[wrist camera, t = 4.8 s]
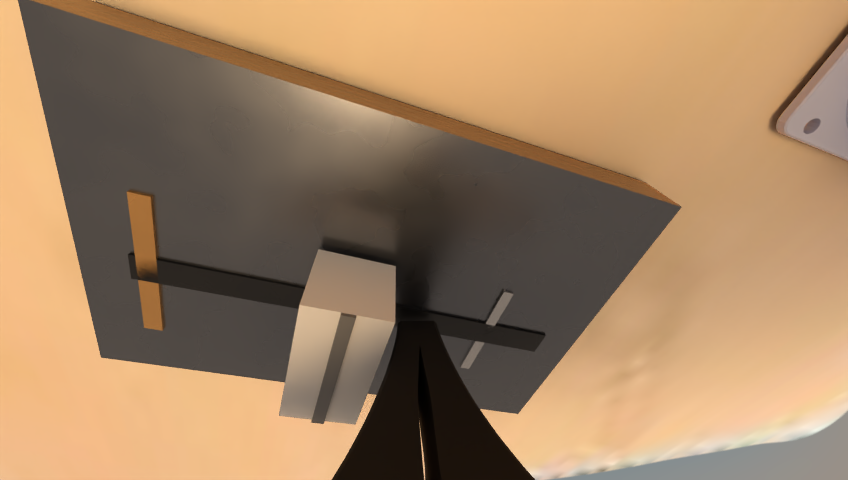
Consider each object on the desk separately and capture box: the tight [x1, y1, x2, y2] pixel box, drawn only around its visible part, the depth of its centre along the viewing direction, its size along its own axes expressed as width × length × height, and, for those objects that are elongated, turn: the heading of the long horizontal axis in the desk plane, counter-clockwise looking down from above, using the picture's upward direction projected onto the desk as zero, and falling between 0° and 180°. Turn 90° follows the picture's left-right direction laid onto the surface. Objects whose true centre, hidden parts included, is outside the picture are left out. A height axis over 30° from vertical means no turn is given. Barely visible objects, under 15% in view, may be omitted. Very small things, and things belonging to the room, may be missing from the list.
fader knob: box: [279, 249, 396, 424], centre depth 11 cm, size 2×5×3 cm, turn 162°
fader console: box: [18, 0, 681, 414], centre depth 13 cm, size 18×12×2 cm, turn 72°
